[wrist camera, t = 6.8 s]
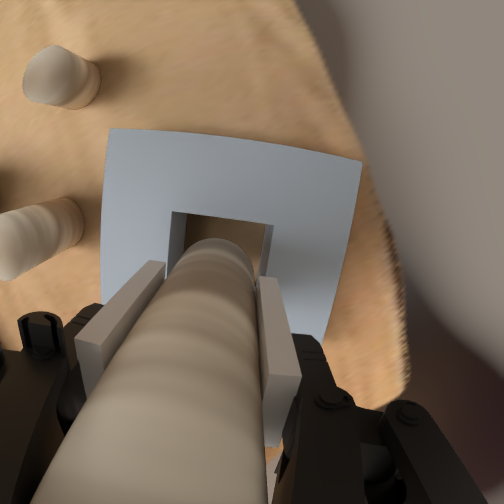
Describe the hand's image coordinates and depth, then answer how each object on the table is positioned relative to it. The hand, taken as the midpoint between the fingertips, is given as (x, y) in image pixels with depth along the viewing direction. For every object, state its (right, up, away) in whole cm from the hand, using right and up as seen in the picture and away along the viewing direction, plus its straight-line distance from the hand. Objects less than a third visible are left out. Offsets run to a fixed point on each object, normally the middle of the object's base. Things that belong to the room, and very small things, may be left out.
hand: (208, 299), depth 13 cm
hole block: (0, +2, +9) cm, 9 cm away
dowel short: (-11, +15, +5) cm, 19 cm away
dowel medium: (-13, +4, +8) cm, 16 cm away
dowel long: (0, +1, +3) cm, 3 cm away
